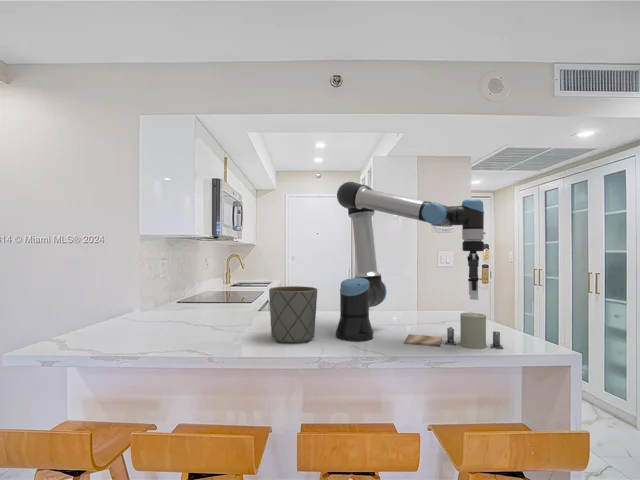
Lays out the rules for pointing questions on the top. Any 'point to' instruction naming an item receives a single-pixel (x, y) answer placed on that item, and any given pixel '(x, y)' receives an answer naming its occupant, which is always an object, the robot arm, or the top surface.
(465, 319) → the can
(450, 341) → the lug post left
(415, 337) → the tan flat square board
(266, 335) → the top surface
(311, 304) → the planter
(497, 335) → the lug post right
